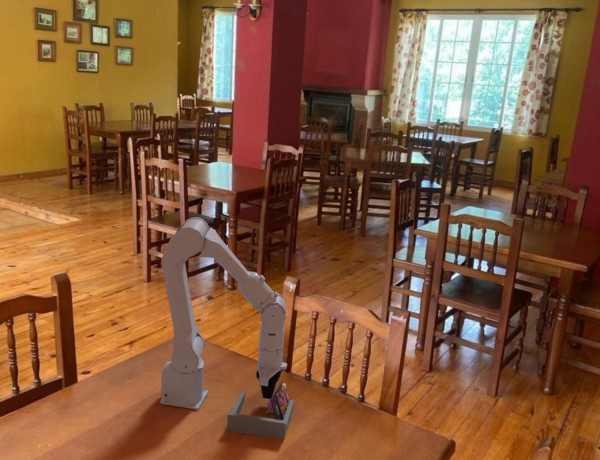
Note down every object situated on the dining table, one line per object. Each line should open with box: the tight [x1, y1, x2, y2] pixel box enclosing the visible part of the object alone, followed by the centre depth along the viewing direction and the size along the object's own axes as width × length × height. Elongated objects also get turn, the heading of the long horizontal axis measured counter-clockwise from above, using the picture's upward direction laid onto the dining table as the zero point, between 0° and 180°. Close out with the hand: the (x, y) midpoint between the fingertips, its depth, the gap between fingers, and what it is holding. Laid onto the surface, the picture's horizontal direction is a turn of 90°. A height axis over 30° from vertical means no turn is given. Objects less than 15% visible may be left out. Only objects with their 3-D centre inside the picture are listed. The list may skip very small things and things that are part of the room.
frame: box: [226, 391, 295, 440], centre depth 132 cm, size 13×12×4 cm
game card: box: [264, 381, 290, 420], centre depth 134 cm, size 7×5×9 cm
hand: (267, 397), depth 138 cm, fingers closed
